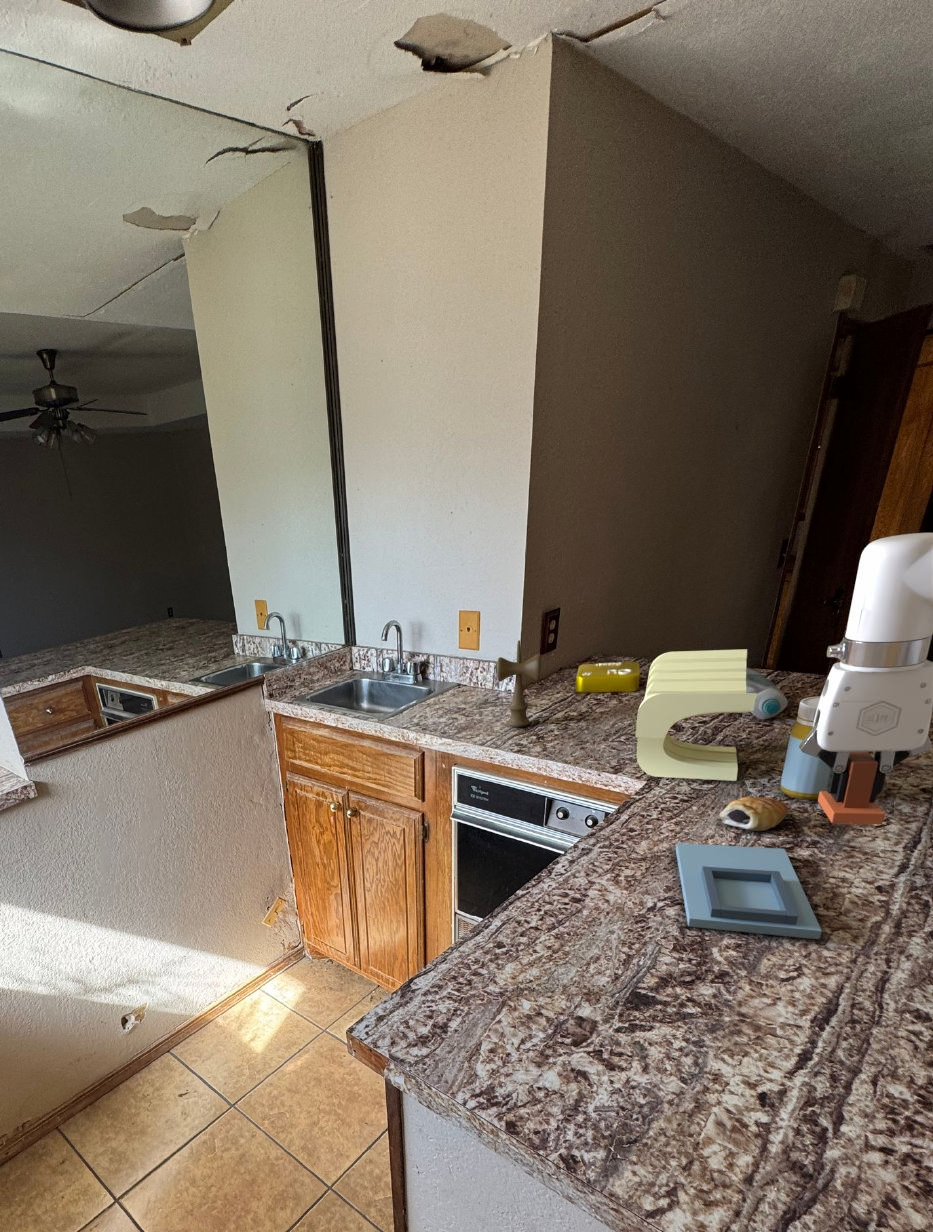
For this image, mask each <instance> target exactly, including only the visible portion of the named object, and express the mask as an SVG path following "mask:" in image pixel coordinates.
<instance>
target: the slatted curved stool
mask: <svg viewBox="0 0 933 1232" xmlns="http://www.w3.org/2000/svg"><path fill="white" fill-rule="evenodd" d="M747 659H748V649H714V650H711V649H710V650H686V651H684V650H683V651H668V652H664V653H662V654H660V655H658V656H657V657H656V658H655V659H653V661H652V663H651V664H650V666H649V670H648V677H647V682H646V687H645V693H644V699H643V700H642V701H641V703H640V705H639V707H638V710H637V714H636V715H637V716H636V724H635V735H634V736H635V738H637V745H636V763H637V764H638V766H639V768H640V769H641V770H642V771H643V772H644V773H646V774H647V775H649V776H651V777H655V778H671V779H673V778H674V779H690V780H691V779H694V780H709V781H711V780H712V781H713V780H714V781H731V782H736V781H737V779H738V772H739V766H738V757H737V749H736V748H737V747H736V746H719V745H704V744H697V743H696V744H695V743H690V742H685V741H681V740H677V739H675V738H673V737H672V736H670V734H669V731H670V729H671V728H672V727H673V726H674V725H675V724H676V723H678V722H680V721H682V720H684V719H689V718H692V717H697V716H704V715H714V714H737V713H738V714H739V713H740V714H742V713H743V714H745V713H751V712H752V711H754V706H755V700H756V694H757V693H746V667H747V662H748V661H747Z"/></svg>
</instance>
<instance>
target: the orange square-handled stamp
mask: <svg viewBox="0 0 933 1232" xmlns="http://www.w3.org/2000/svg"><path fill="white" fill-rule="evenodd" d="M877 766H878V762H877V761H876V760H875V759H874V758H873V755H872V754H871V753H869V752H850V754H849V758H848V761H847V765H846V767H847V772H848V774H849V778H848V783H847V787H846V792H845V797H844V801H842V802H836V801H835V800H834V799H833V797H832V796H831V794H829V793H828V792H827V791H820V793H819V798H818V799H817V802H818V804H819V805H820V807H821V808H822V810H823V811H824V813H825V815H826V816H827V818H828V819H829V821H830V823H831V824H845V825H847V824H848V825H883V823H884V820H885V815H886V813H885V812H884V810H882V808H881V807H880V805H878V803H877V802H876V801H875V802H874V803H869V800H870V796H871V792H872V787H873V783H874V779H875V774H876V770H877Z"/></svg>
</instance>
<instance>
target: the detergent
mask: <svg viewBox="0 0 933 1232" xmlns="http://www.w3.org/2000/svg"><path fill="white" fill-rule="evenodd" d="M746 693H757V694H756V700H755V706H754V711H752V712H750V713H751V715H753V716H755V718H757V719H760V720H762V721H763V720H764V721H765V720H769V719H771V718H773V717H775V716H777V715H778V714H780V713H781V712H783V710H785V709H786V707H787V706H788V704H789V703H788V702H789V701H788V699H787V697H786V696H785V692H784V691H783V690H782V689H780V688H779V687H778V686H776V684H775V683H773V682H772V681H771V680H769V679H768V678H766V676H764V675H763V674H762V673H761V672H759V671H757V670H756V669H753V668H751V667H747V666H746Z"/></svg>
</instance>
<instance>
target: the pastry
mask: <svg viewBox="0 0 933 1232" xmlns="http://www.w3.org/2000/svg"><path fill="white" fill-rule="evenodd" d="M788 811H789V809H788V805H787V804H786V803H783V802H782V801H780V800H778V799H776V798H774V797H763V796H760V797H759V796H755V797H754V796H753V797H752V796H749V797H746V796H744V797H740V798H739V799H733V800H732V801H730V802H729V803H728V804H727V806H726V807H725V808H724V809H723V810H722V811H720V813H719V818H720V819H721V821H722V823H723V824H724V825H727V826H730V827H732V828H733V827H734V828H740V829H743V830H745V831H749V832H753V831H754V832H762V831H767V830H769V829H771V828H773V829H774V828H775V827H776V826H777V825H779V824H781V822H782V821H783V820H784V819H785V818H786V816H787V813H788Z"/></svg>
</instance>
